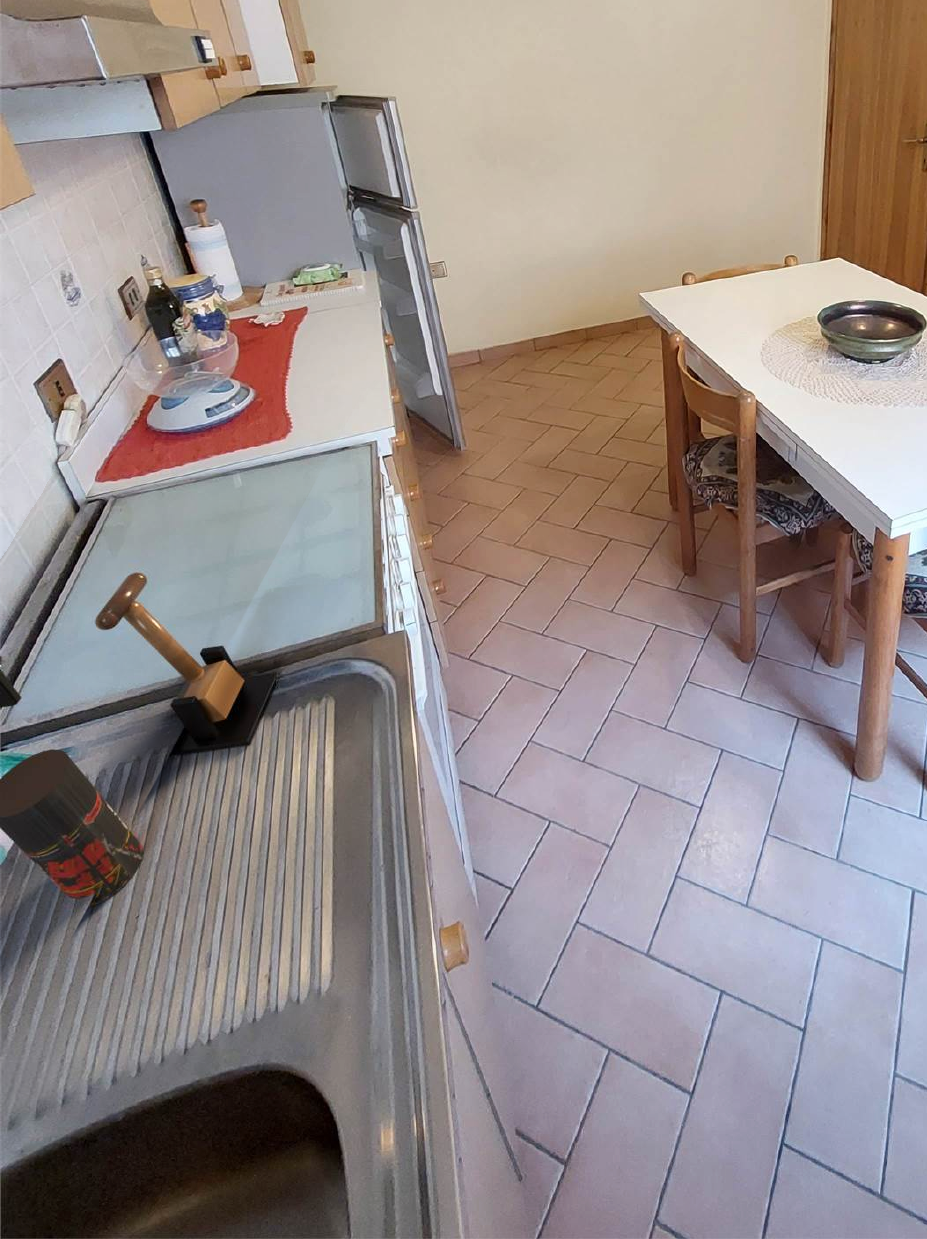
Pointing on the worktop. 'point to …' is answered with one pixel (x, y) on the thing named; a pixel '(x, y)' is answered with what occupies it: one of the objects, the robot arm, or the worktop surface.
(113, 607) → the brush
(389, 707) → the worktop surface
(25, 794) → the deodorant
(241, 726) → the brush stand
